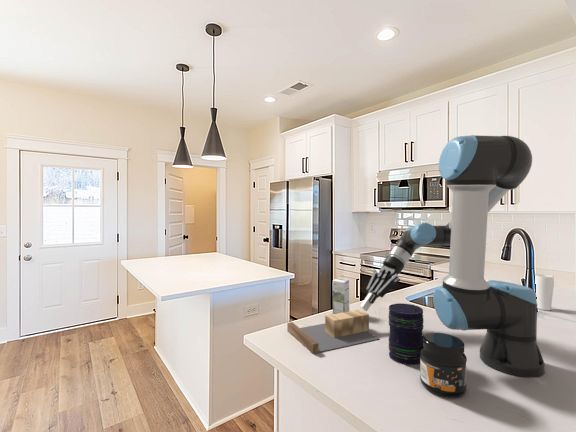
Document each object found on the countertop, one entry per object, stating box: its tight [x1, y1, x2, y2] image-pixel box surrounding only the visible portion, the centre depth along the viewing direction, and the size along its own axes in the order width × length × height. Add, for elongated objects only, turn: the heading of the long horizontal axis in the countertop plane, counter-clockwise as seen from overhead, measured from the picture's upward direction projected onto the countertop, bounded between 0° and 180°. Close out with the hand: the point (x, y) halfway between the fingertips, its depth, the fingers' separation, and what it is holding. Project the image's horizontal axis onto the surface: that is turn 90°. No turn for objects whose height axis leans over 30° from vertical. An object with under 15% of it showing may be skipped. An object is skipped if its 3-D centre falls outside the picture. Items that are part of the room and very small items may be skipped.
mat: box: [299, 323, 380, 354], centre depth 110 cm, size 24×20×1 cm
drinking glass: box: [534, 273, 555, 312], centre depth 135 cm, size 7×7×15 cm
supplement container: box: [419, 332, 468, 398], centre depth 77 cm, size 10×10×12 cm
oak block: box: [324, 309, 370, 338], centre depth 112 cm, size 6×6×15 cm
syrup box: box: [332, 277, 350, 314], centre depth 133 cm, size 6×6×14 cm
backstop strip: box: [286, 321, 319, 355], centre depth 104 cm, size 2×20×3 cm, turn 24°
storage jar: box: [388, 303, 425, 366], centre depth 92 cm, size 10×10×15 cm
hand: (363, 308), depth 114 cm, fingers closed
